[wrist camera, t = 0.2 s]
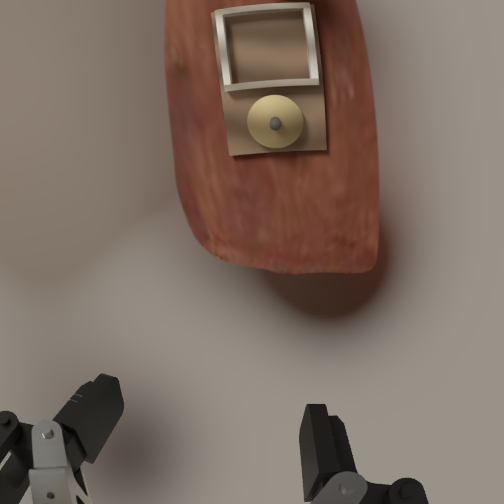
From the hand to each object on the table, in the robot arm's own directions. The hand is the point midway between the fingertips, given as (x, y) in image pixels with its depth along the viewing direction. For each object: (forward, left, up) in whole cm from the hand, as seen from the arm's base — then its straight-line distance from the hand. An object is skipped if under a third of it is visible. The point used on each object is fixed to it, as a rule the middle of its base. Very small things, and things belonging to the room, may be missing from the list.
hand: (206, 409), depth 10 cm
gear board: (-9, +9, -31) cm, 33 cm away
